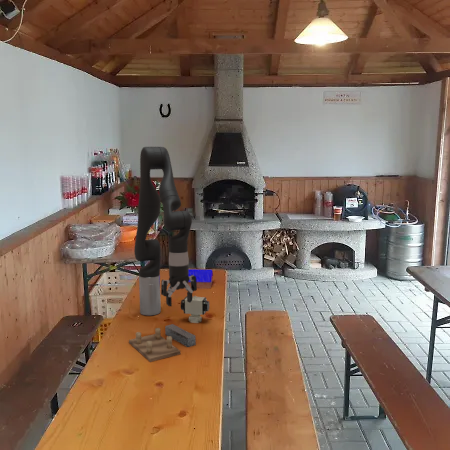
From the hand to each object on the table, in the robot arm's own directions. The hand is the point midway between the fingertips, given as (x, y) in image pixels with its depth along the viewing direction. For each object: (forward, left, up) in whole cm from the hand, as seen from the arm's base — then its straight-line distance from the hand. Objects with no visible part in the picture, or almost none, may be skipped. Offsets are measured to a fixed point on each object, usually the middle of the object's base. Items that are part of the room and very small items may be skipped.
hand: (179, 303), depth 185 cm
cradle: (+2, -12, -15) cm, 19 cm away
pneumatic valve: (-13, +14, -15) cm, 25 cm away
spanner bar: (0, 0, -15) cm, 15 cm away
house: (-55, +36, -15) cm, 68 cm away
